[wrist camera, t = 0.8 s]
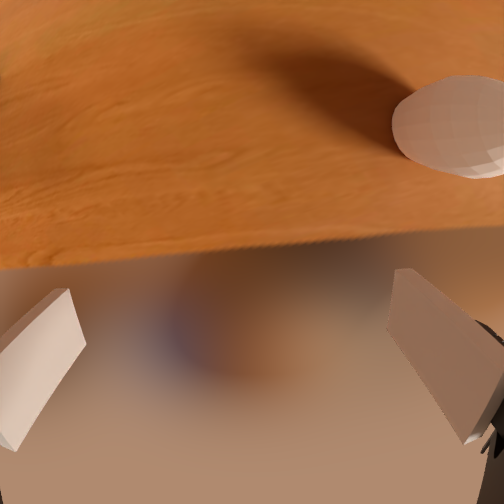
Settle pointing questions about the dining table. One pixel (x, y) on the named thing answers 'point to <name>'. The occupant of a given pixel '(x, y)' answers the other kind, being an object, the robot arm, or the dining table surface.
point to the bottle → (454, 126)
